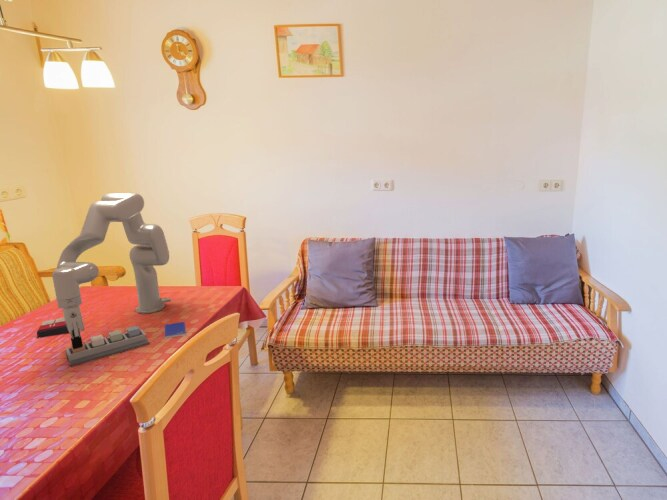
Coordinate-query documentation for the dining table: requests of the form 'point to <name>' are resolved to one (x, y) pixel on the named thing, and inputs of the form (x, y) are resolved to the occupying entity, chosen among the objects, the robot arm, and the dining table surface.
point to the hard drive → (175, 330)
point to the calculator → (52, 328)
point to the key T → (133, 331)
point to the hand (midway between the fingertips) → (77, 347)
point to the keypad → (106, 348)
